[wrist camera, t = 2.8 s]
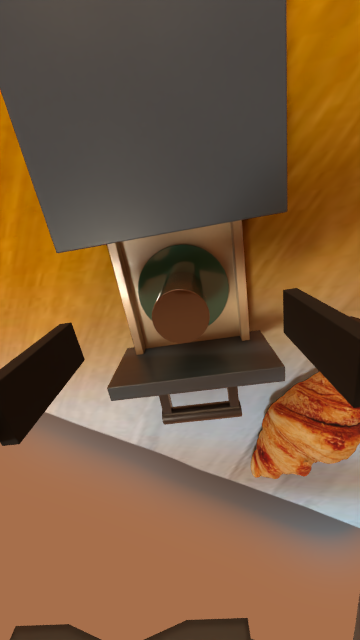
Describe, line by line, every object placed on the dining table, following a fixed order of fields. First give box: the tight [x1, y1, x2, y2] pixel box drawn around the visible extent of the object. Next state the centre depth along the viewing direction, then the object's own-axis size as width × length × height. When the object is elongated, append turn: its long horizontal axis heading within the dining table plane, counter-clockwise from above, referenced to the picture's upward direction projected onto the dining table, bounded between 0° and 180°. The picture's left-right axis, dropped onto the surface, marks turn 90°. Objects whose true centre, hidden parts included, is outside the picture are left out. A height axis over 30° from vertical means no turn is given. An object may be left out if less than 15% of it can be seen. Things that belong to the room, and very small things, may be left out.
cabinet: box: [0, 0, 287, 253], centre depth 16 cm, size 18×15×9 cm
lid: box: [138, 244, 229, 344], centre depth 20 cm, size 9×9×8 cm
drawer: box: [107, 220, 285, 424], centre depth 21 cm, size 24×15×7 cm, turn 10°
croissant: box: [251, 371, 360, 479], centre depth 28 cm, size 21×10×8 cm, turn 152°
